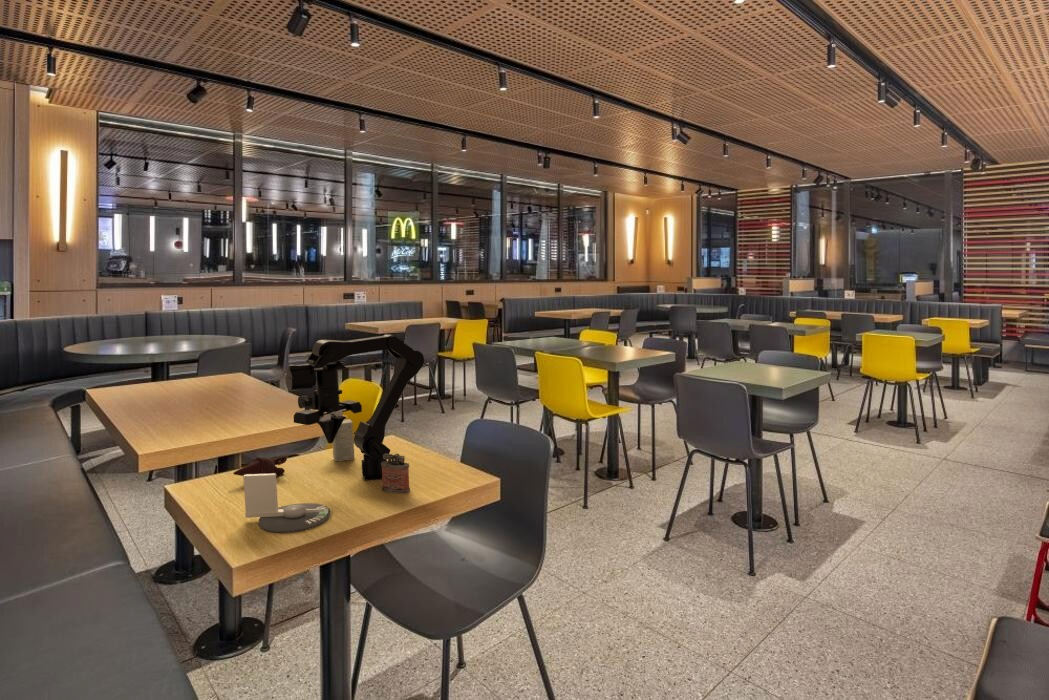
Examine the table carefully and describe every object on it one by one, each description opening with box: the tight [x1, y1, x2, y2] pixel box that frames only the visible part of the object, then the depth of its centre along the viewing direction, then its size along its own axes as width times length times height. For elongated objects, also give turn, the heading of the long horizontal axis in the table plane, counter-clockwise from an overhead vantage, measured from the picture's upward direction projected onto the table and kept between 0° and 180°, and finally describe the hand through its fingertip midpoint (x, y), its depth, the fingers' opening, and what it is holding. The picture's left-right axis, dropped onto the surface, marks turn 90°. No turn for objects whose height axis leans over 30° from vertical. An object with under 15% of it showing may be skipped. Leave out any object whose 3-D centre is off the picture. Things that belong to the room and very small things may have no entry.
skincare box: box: [331, 418, 356, 462], centre depth 193 cm, size 6×4×12 cm
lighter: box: [381, 453, 411, 494], centre depth 165 cm, size 8×3×10 cm, turn 71°
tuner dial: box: [258, 502, 331, 534], centre depth 147 cm, size 16×16×1 cm
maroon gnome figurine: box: [232, 455, 288, 477], centre depth 174 cm, size 7×7×15 cm
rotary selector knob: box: [242, 473, 325, 519], centre depth 146 cm, size 18×5×10 cm, turn 96°
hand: (330, 443), depth 168 cm, fingers closed
